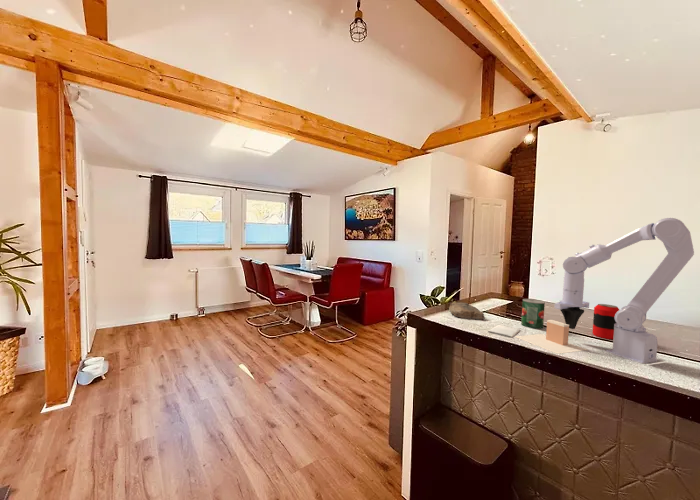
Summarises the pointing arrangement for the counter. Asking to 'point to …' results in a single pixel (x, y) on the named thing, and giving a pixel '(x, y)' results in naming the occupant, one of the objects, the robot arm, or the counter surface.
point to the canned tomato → (533, 313)
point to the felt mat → (550, 344)
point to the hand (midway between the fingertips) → (570, 328)
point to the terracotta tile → (557, 332)
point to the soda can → (604, 321)
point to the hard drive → (504, 331)
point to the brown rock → (465, 311)
